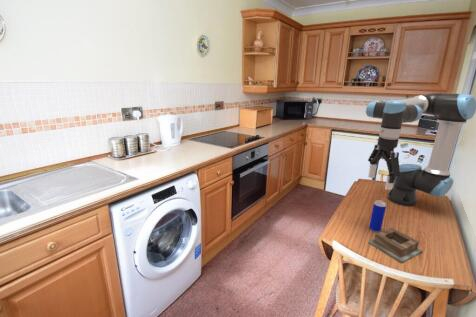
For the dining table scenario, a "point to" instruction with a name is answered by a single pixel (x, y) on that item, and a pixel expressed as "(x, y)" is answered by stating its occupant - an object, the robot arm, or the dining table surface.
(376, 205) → the beverage can
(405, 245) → the socket block
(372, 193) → the dining table surface
